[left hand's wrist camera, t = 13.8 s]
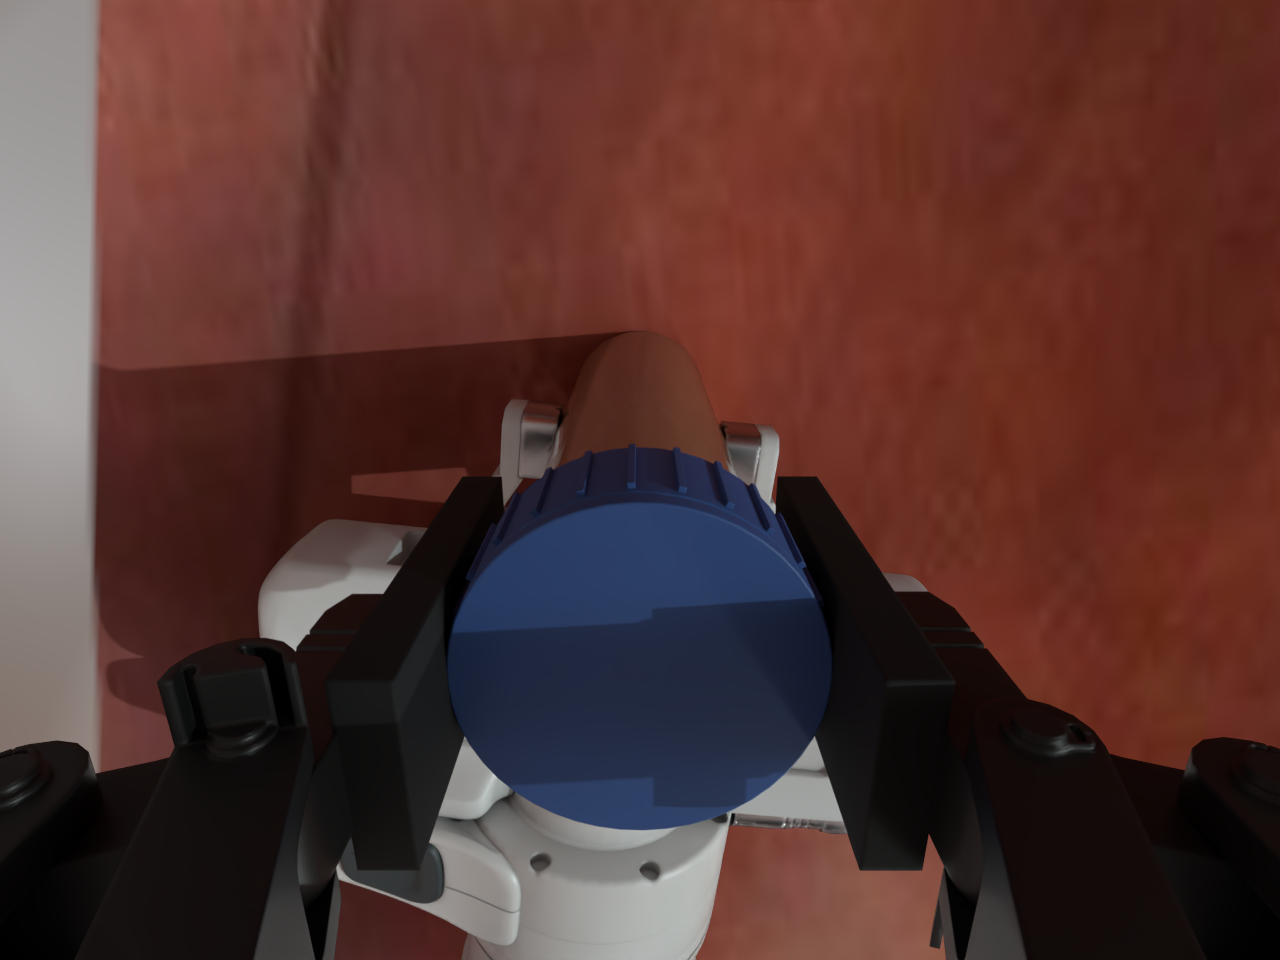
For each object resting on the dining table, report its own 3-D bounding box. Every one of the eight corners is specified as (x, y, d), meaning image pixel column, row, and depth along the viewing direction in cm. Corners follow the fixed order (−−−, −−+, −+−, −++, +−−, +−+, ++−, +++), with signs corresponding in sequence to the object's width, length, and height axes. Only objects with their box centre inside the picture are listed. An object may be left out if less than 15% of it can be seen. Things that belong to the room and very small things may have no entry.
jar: (721, 425, 26) (841, 729, 11) (608, 473, 27) (566, 825, 11) (672, 309, 25) (728, 466, 9) (554, 362, 26) (421, 592, 10)
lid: (846, 666, 13) (890, 763, 10) (564, 768, 13) (549, 878, 11) (732, 385, 11) (755, 429, 9) (416, 521, 12) (363, 593, 9)
